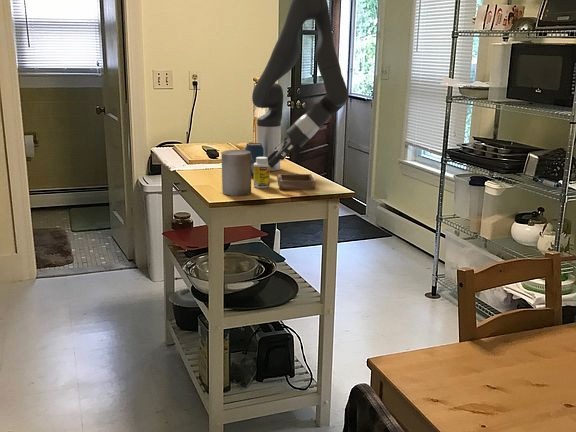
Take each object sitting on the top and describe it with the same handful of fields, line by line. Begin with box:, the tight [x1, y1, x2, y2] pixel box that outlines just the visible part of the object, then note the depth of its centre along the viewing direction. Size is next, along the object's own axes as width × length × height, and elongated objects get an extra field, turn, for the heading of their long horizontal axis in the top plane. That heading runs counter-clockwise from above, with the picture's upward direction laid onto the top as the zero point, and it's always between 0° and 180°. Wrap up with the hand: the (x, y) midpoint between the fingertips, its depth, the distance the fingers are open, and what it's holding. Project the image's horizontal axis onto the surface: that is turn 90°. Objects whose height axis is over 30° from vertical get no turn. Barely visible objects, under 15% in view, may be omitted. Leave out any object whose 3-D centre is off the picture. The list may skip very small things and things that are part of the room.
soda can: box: [244, 142, 264, 178], centre depth 235 cm, size 7×7×12 cm
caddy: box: [277, 173, 316, 191], centre depth 220 cm, size 12×12×3 cm
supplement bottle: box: [253, 157, 271, 189], centre depth 217 cm, size 6×6×10 cm
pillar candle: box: [220, 147, 252, 197], centre depth 207 cm, size 10×10×15 cm
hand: (268, 163), depth 216 cm, fingers open, 8 cm apart
